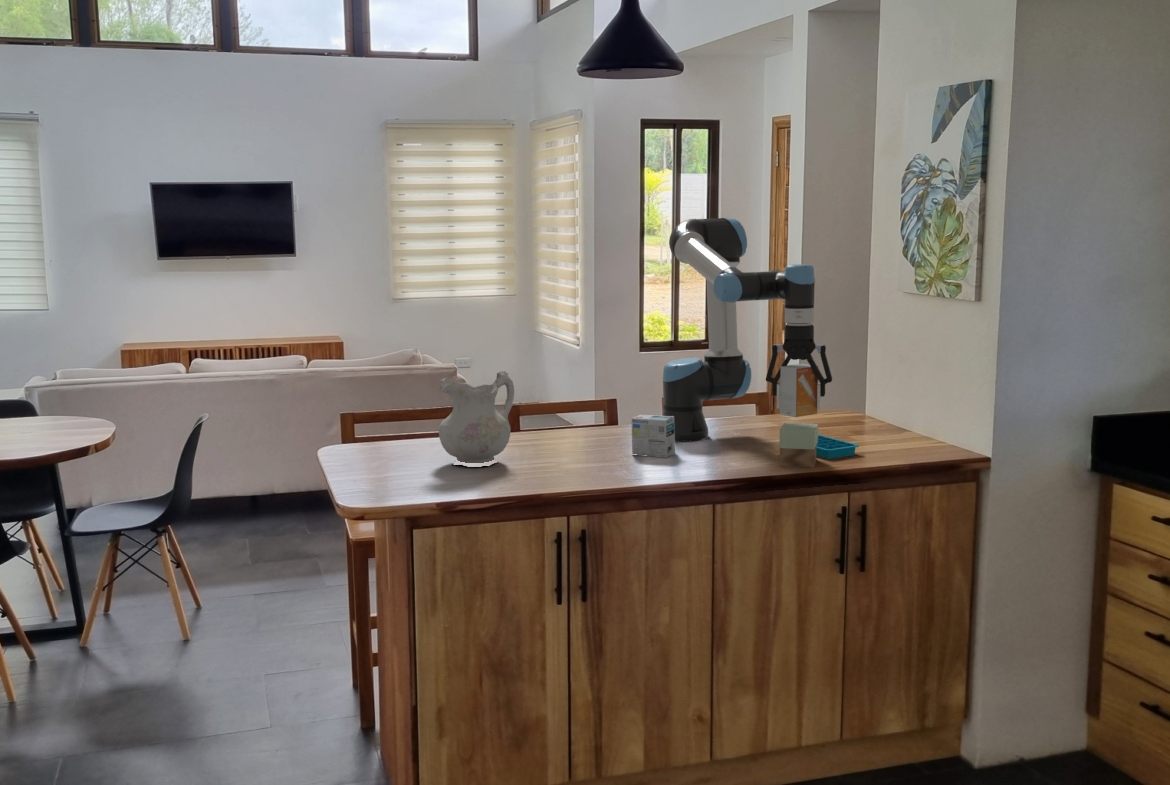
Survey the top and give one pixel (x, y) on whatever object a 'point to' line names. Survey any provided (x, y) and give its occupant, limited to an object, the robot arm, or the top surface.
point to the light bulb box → (653, 435)
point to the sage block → (798, 436)
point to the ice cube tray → (834, 448)
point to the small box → (798, 390)
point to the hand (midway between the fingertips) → (798, 408)
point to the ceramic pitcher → (476, 420)
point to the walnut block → (797, 457)
